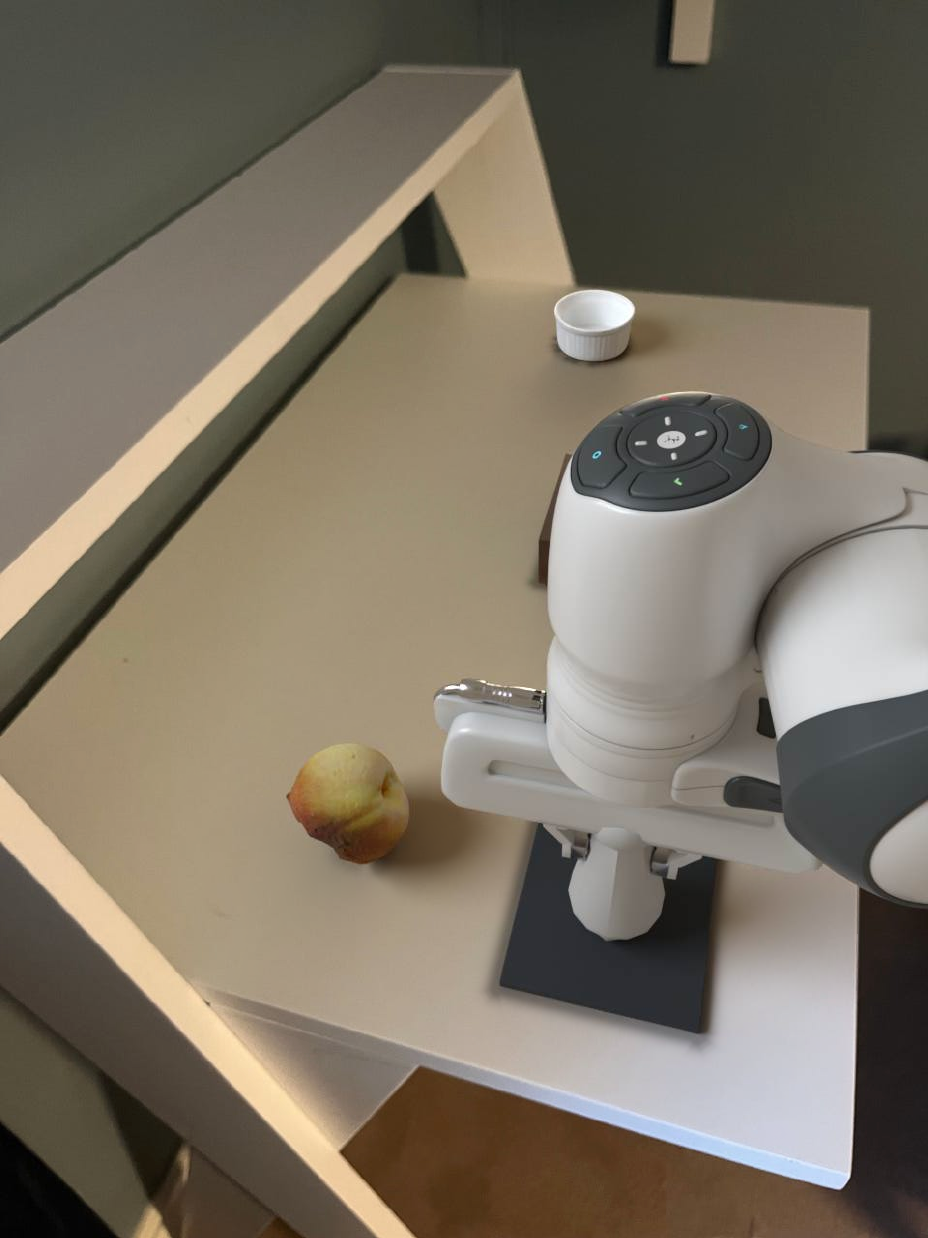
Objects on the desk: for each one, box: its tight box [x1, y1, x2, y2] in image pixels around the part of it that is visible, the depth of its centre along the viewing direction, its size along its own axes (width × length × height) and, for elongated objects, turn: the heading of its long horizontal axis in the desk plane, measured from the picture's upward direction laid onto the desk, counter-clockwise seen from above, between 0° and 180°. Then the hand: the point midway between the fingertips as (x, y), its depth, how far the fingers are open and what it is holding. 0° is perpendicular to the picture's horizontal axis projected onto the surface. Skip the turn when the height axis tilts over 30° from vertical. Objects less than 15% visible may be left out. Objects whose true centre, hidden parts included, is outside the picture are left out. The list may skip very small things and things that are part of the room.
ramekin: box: [553, 289, 636, 362], centre depth 107 cm, size 9×9×4 cm
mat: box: [498, 822, 717, 1034], centre depth 61 cm, size 12×12×1 cm
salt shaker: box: [569, 827, 665, 941], centre depth 56 cm, size 6×6×13 cm
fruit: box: [286, 742, 410, 866], centre depth 64 cm, size 8×8×8 cm
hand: (620, 857), depth 56 cm, fingers closed on salt shaker, 4 cm apart
